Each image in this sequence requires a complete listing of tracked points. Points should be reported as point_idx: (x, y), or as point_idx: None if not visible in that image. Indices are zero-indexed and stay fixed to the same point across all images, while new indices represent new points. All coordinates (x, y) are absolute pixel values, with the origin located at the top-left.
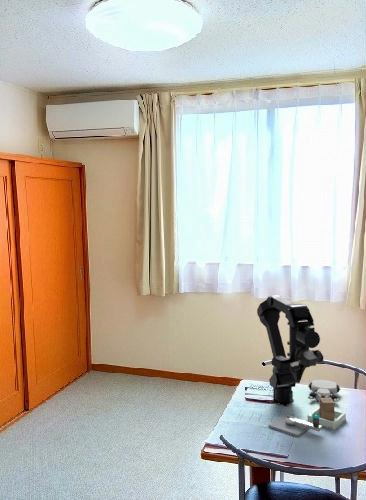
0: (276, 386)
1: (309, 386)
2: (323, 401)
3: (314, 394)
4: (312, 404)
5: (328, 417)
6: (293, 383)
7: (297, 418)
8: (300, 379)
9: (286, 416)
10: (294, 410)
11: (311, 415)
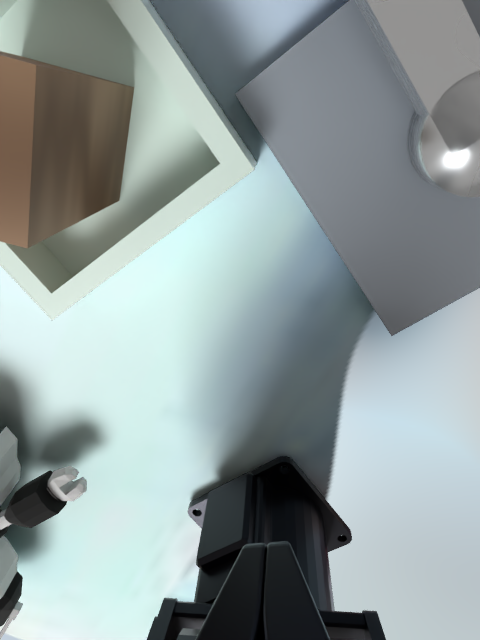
0: (374, 635)
1: (13, 601)
2: (10, 107)
3: (21, 500)
4: (80, 425)
5: (56, 66)
6: (186, 628)
7: (332, 220)
8: (222, 605)
9: (404, 284)
10: (256, 384)
11: (219, 151)
